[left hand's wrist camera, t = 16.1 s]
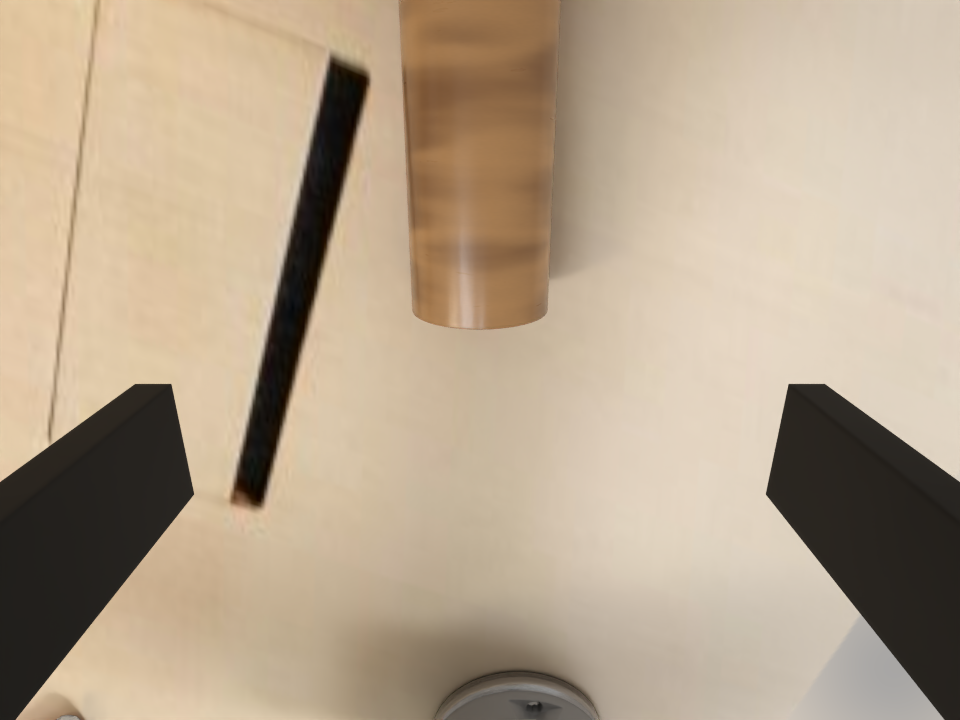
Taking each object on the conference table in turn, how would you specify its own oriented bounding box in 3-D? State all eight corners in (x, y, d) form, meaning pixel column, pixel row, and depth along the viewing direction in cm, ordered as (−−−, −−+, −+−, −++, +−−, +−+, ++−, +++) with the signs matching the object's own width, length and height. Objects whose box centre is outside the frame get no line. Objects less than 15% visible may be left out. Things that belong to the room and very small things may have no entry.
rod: (540, 291, 39) (555, 329, 31) (419, 291, 39) (405, 329, 31) (560, -231, 29) (588, -357, 22) (398, -231, 29) (371, -357, 22)
